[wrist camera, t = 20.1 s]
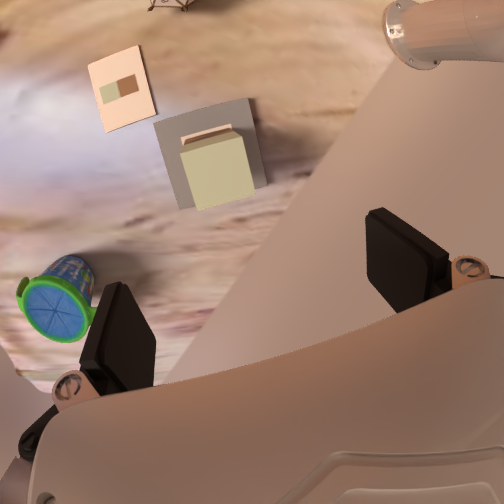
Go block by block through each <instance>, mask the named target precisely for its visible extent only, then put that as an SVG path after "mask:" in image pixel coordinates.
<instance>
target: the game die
mask: <svg viewBox="0 0 504 504" xmlns="http://www.w3.org/2000/svg"><path fill="white" fill-rule="evenodd" d="M150 1H151V4H152V6H151V7H150V8H148V11H152V9H153V8H154V7H181V9H182V11H184V12H187V11H188V7H187V6H188V5H190V4H191V3H193V2H195V1H196V0H150Z"/></svg>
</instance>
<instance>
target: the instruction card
mask: <svg viewBox="0 0 504 504" xmlns="http://www.w3.org/2000/svg"><path fill="white" fill-rule="evenodd" d="M88 69H89V73H90V77H91V81H92V85H93V89H94V93H95V97H96V101H97V105H98V108H99V112H100V115H101V119H102V122H103V126H104V129H105V132H106V133H107V132H110V131H112V130H115V129H117V128H120V127H122V126H125V125H128V124H130V123H133V122H136V121H139V120H142V119H144V118H147V117H150V116H153V115H156V112H155V108H154V105H153V101H152V97H151V94H150V90H149V86H148V82H147V78H146V74H145V70H144V67H143V63H142V58H141V54H140V50H139V46H138V45H137V46H134V47H131V48H128V49H126V50H123V51H121V52H118V53H115V54H113V55H110V56H108V57H106V58H103V59H101V60H98V61H96V62H94V63H92V64H89V65H88Z"/></svg>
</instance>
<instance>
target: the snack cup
mask: <svg viewBox="0 0 504 504" xmlns="http://www.w3.org/2000/svg"><path fill="white" fill-rule="evenodd" d="M93 289H94V276H93V274H92V271H91V269H90V268H89V266H88V265H87V264H86V263H85V262H84V261H83V260H82V259H81V258H77V257H74V256H65V257H61V258H59V259H58V260H57V261H55V262H54V263H53V264H52V265H51V266H49V267H48V268H47V269H46V270H45V271H44V272H43V273H42V274H41V275H39V276H38V277H35V278H33V279H31V280H30V281H29V278H28V277H24V278H23V279H22V280H21V282H20V284H19V286H18V288H17V291H16V298H17V302H18V305H19V308H20V310H21V311H22V312H23V313H24V314H25V316H26V318H27V320H28V321H29V323H30V324H31V325H32V326H33V327H34V328H35V329H36V330H37V331H38V332H39V333H40V334H42V335H43V336H45V337H47V338H49V339H50V340H53V341H56V342H61V343H71V342H75V341H78V340H80V339H81V338H82V337H83V336H84V335H85V334H86V332H87V330H88V327H89V326H90V325H91V324H92V321H93V318H94V315H95V313H96V310H97V307H91V300H92V295H93Z"/></svg>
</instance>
